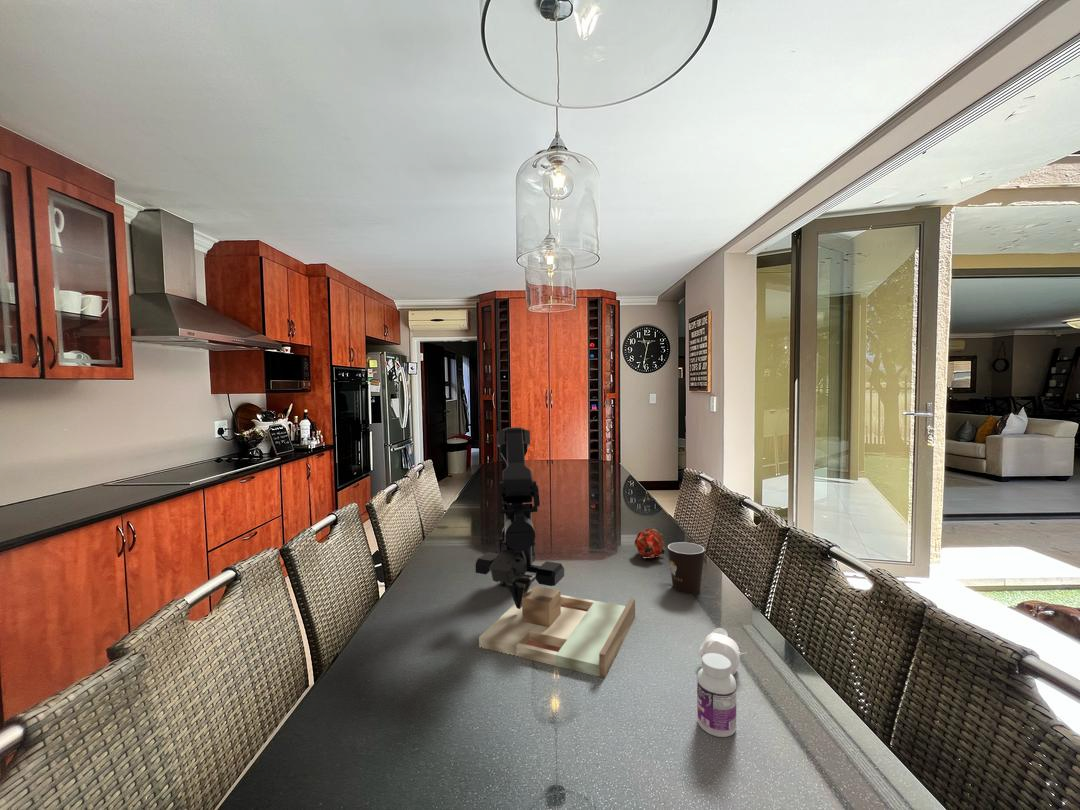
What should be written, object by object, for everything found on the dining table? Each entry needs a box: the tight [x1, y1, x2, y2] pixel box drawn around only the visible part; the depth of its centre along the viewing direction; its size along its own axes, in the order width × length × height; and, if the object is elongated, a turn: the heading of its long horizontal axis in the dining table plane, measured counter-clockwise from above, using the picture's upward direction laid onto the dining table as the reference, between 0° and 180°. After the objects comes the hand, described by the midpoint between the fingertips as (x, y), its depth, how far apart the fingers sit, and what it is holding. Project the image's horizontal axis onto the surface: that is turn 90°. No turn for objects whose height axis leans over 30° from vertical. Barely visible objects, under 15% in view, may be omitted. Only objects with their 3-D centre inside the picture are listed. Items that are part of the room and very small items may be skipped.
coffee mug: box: [667, 541, 705, 595], centre depth 115 cm, size 12×9×10 cm
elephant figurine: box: [698, 627, 748, 676], centre depth 81 cm, size 7×8×6 cm
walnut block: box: [522, 585, 561, 627], centre depth 96 cm, size 6×6×5 cm
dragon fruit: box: [634, 528, 666, 560], centre depth 136 cm, size 8×8×12 cm
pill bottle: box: [696, 653, 737, 738], centre depth 67 cm, size 5×5×10 cm
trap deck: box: [478, 588, 636, 679], centre depth 94 cm, size 25×23×4 cm
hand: (519, 608), depth 98 cm, fingers closed
